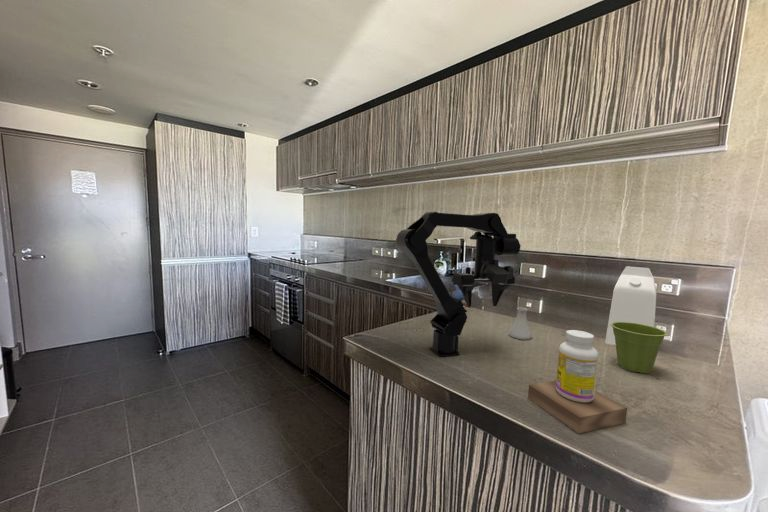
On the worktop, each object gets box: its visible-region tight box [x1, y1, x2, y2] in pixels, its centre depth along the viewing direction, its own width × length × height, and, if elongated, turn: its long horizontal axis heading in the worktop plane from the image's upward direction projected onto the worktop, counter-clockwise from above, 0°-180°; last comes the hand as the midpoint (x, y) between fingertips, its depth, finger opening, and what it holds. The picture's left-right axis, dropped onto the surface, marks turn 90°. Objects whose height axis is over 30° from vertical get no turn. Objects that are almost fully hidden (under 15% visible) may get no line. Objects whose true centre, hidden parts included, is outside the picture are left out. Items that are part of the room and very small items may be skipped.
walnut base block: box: [527, 380, 628, 434], centre depth 62 cm, size 12×12×3 cm
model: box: [451, 284, 473, 308], centre depth 151 cm, size 12×9×9 cm
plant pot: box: [611, 322, 668, 374], centre depth 83 cm, size 12×12×11 cm
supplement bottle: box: [555, 329, 599, 403], centre depth 62 cm, size 7×7×13 cm
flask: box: [508, 307, 533, 341], centre depth 106 cm, size 7×7×10 cm
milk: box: [604, 265, 657, 346], centre depth 102 cm, size 12×12×26 cm
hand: (481, 306), depth 93 cm, fingers open, 9 cm apart
